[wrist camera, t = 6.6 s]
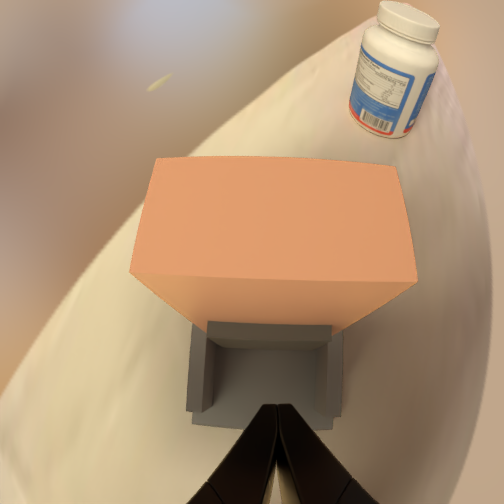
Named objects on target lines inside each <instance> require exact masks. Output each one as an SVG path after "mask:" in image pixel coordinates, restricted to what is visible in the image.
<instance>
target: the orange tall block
mask: <svg viewBox="0 0 504 504" xmlns="http://www.w3.org/2000/svg"><path fill="white" fill-rule="evenodd" d="M129 273H131V274H132V275H133V276H134V277H135V278H137V279H138V280H139V281H140V282H141V283H143V284H144V285H145V286H146V287H147V288H149V289H150V290H151V291H152V292H154V293H155V294H156V295H157V296H158V297H160V298H161V299H162V300H164V301H165V302H166V303H167V304H169V305H170V306H171V307H172V308H174V309H175V310H176V311H178V312H179V313H180V314H182V315H183V316H184V317H185V318H187V319H188V320H189V321H191V322H192V323H193V324H195V325H196V326H197V327H199V328H200V329H202V330H203V331H204V332H206V333H207V335H206V337H207V338H209V339H210V340H212V341H213V342H215V343H216V344H218V345H220V346H221V347H224V348H240V349H260V350H303V351H312V350H314V349H316V348H319V347H321V346H323V345H325V344H327V343H329V342H331V341H332V336H333V335H334V334H336V333H338V332H340V331H341V330H343V329H345V328H347V327H348V326H350V325H352V324H353V323H355V322H357V321H358V320H360V319H362V318H363V317H365V316H367V315H368V314H370V313H371V312H373V311H375V310H376V309H378V308H379V307H381V306H383V305H384V304H386V303H387V302H389V301H390V300H392V299H393V298H395V297H396V296H398V295H399V294H401V293H402V292H404V291H405V290H407V289H408V288H410V287H411V286H413V285H414V284H416V283H417V282H418V278H417V270H416V263H415V256H414V250H413V244H412V238H411V232H410V227H409V222H408V217H407V212H406V207H405V203H404V198H403V194H402V190H401V186H400V182H399V178H398V174H397V170H396V167H394V166H386V165H378V164H369V163H359V162H349V161H338V160H325V159H310V158H291V157H261V156H204V157H176V158H157V159H156V163H155V166H154V170H153V173H152V177H151V180H150V184H149V187H148V192H147V195H146V199H145V203H144V207H143V211H142V215H141V219H140V223H139V227H138V232H137V236H136V241H135V245H134V250H133V255H132V260H131V265H130V271H129Z"/></svg>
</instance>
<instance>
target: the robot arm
mask: <svg viewBox="0 0 504 504" xmlns="http://www.w3.org/2000/svg"><path fill="white" fill-rule="evenodd" d="M276 465H277V474H278V480H279V486H280V492H281V498H282V504H379V503H378V502H377V501H376V500H374V499H373V498H372V497H371V496H370V495H369V494H368V493H367V492H366V491H365V490H364V489H363V488H362V486H361V485H360V484H359V483H358V482H357V481H356V480H355V479H354V478H352V476H351V475H350V474H349V472H348V471H347V470H346V469H345V468H344V467H343V466H342V464H341V463H340V462H339V461H338V460H337V459H336V457H335V456H334V455H333V454H332V453H331V451H330V450H329V449H328V448H327V447H326V446H325V444H324V443H323V442H322V441H321V440H320V438H319V437H318V436H317V435H316V433H315V432H314V431H313V430H312V429H311V427H310V426H309V425H308V424H307V422H306V421H305V420H304V419H303V417H302V416H301V415H300V414H299V412H298V411H297V410H296V409H295V407H294V406H293V405H292V404H291V403H280V404H278V405H276V404H262V406H261V407H260V408H259V410H258V411H257V413H256V414H255V416H254V417H253V419H252V420H251V422H250V423H249V424H248V426H247V427H246V429H245V430H244V432H243V433H242V434H241V436H240V437H239V439H238V440H237V441H236V443H235V444H234V445H233V447H232V448H231V450H230V451H229V452H228V454H227V455H226V456H225V458H224V459H223V460H222V462H221V463H220V464H219V465H218V467H217V468H216V469H215V471H214V472H213V473H212V475H211V476H210V477H209V478H208V480H207V481H208V482H207V481H206V482H205V483H204V484H203V485H202V487H201V488H200V489H199V490H198V491H197V493H196V494H195V495H194V496H193V497H192V498H191V499H190V500H189V501H188V502H187V504H269V503H270V498H271V493H272V487H273V481H274V475H275V469H276Z"/></svg>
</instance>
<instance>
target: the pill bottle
mask: <svg viewBox="0 0 504 504" xmlns="http://www.w3.org/2000/svg"><path fill="white" fill-rule="evenodd" d="M377 21H378V23H379V24H380V25H374V26H371V27H369V28H368V29H366V31H365V32H364V35H363V39H362V43H361V49H360V54H359V59H358V64H357V68H356V73H355V78H354V83H353V87H352V92H351V96H350V100H349V110H350V113H351V115H352V117H353V118H354V120H355V121H356V122H357V123H358V124H359V125H360V126H362V127H363V128H364V129H366V130H368V131H369V132H372V133H374V134H376V135H379V136H382V137H387V138H400V137H403V136H405V135H406V134H408V133H409V131H410V130H411V128H412V126H413V124H414V122H415V120H416V118H417V116H418V113H419V111H420V109H421V106H422V104H423V102H424V99H425V97H426V95H427V93H428V90H429V88H430V85H431V83H432V80H433V78H434V75H435V73H436V70H437V67H438V64H439V59H438V55H437V53H436V51H435V50H434V48H433V47H432V46H431V44H434V43H435V40H436V38H437V34H438V31H439V27H440V26H439V23H438V22H437V21H436V20H435V19H433V18H432V17H431V16H429V15H428V14H426V13H424V12H422V11H420V10H418V9H416V8H413V7H411V6H408V5H405V4H402V3H398V2H394V1H382V2H380V4H379V9H378V13H377Z"/></svg>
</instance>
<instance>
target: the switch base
mask: <svg viewBox="0 0 504 504" xmlns="http://www.w3.org/2000/svg"><path fill="white" fill-rule="evenodd" d="M206 335H207V333H206V332H204V331H203V330H202V329H200V328H199V327H197V326H196V325H195V324H192V335H191V346H190V358H189V372H188V386H187V403H186V411H189V412H193V414H192V424H196V425H204V426H212V427H222V428H234V429H246V427H247V426H248V424H249V423H250V422H251V420H252V419H253V417H254V416H255V414H256V413H257V411H258V410H259V408H260V407H261V406H262V404H276V405H278V404H280V403H291V404H292V405H293V406H294V407H295V409H296V410H297V411H298V412H299V414H300V415H301V416H302V417H303V419H304V420H305V421H306V422H307V424H308V425H309V426H310V427H311V429H312V430H329V429H332V427H333V417H341V403H342V375H343V330H341V331H340V332H338V333H336V334H334V335H333V336H332V341H331V342H329V343H327V344H325V345H323V346H321V347H319V348H316V349H314V350H312V351H303V350H260V349H240V348H224V347H221V346H220V345H218V344H216V343H215V342H213V341H212V340H210V339H209V338H207V337H206Z"/></svg>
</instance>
